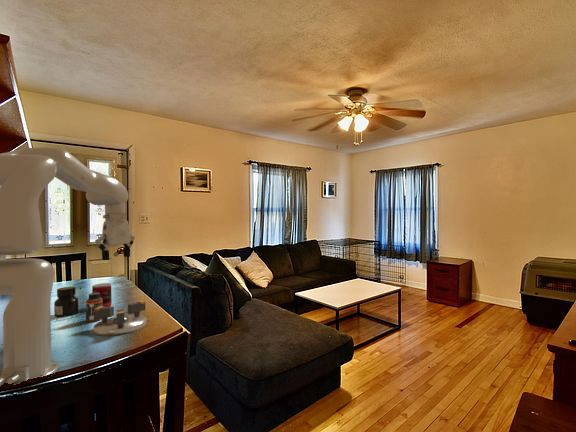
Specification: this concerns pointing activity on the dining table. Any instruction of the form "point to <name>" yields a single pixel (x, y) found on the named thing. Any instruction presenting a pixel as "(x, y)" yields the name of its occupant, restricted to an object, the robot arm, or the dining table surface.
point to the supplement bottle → (93, 306)
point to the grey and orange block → (136, 308)
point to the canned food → (104, 293)
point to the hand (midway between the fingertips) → (116, 258)
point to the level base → (112, 327)
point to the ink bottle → (66, 302)
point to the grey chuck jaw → (120, 317)
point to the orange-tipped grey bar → (104, 313)
